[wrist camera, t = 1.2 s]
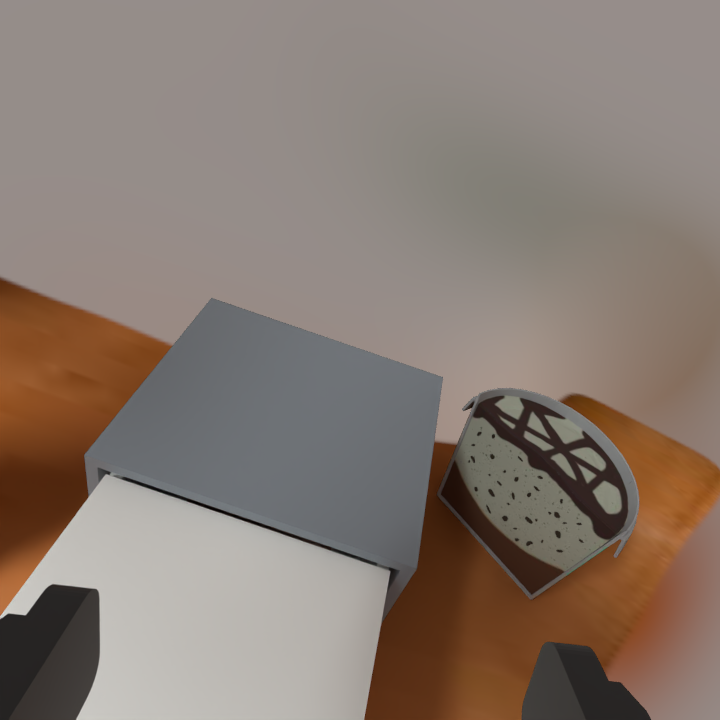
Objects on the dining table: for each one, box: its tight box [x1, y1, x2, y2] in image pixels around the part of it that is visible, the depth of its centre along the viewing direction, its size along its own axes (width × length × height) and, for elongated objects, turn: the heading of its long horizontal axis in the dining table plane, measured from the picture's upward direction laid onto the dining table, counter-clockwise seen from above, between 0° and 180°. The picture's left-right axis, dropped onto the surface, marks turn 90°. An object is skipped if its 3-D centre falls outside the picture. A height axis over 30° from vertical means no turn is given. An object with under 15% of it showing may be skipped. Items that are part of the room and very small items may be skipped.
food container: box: [436, 388, 639, 600], centre depth 37 cm, size 12×6×10 cm, turn 39°
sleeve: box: [84, 298, 443, 623], centre depth 33 cm, size 14×16×10 cm
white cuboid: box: [0, 472, 390, 720], centre depth 29 cm, size 25×14×8 cm, turn 168°
